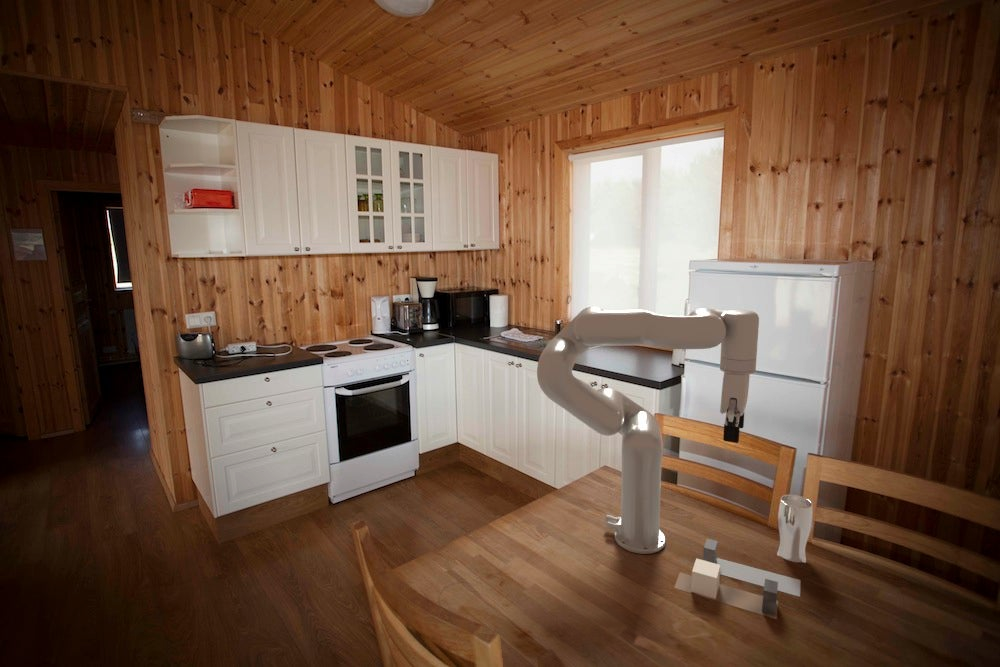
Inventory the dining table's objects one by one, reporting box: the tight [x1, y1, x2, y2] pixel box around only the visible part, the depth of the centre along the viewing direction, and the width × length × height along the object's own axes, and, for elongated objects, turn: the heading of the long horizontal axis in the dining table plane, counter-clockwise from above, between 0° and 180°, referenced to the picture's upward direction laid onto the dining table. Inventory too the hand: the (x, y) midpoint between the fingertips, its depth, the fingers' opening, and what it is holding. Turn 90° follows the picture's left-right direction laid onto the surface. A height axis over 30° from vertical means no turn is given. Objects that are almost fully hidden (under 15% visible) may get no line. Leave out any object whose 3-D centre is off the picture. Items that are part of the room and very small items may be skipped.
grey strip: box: [702, 538, 801, 597], centre depth 119 cm, size 20×6×6 cm, turn 60°
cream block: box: [691, 557, 721, 599], centre depth 114 cm, size 5×5×5 cm
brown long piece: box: [673, 571, 779, 620], centre depth 113 cm, size 20×6×6 cm, turn 60°
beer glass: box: [776, 494, 813, 563], centre depth 124 cm, size 7×7×15 cm
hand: (733, 434), depth 124 cm, fingers open, 9 cm apart
